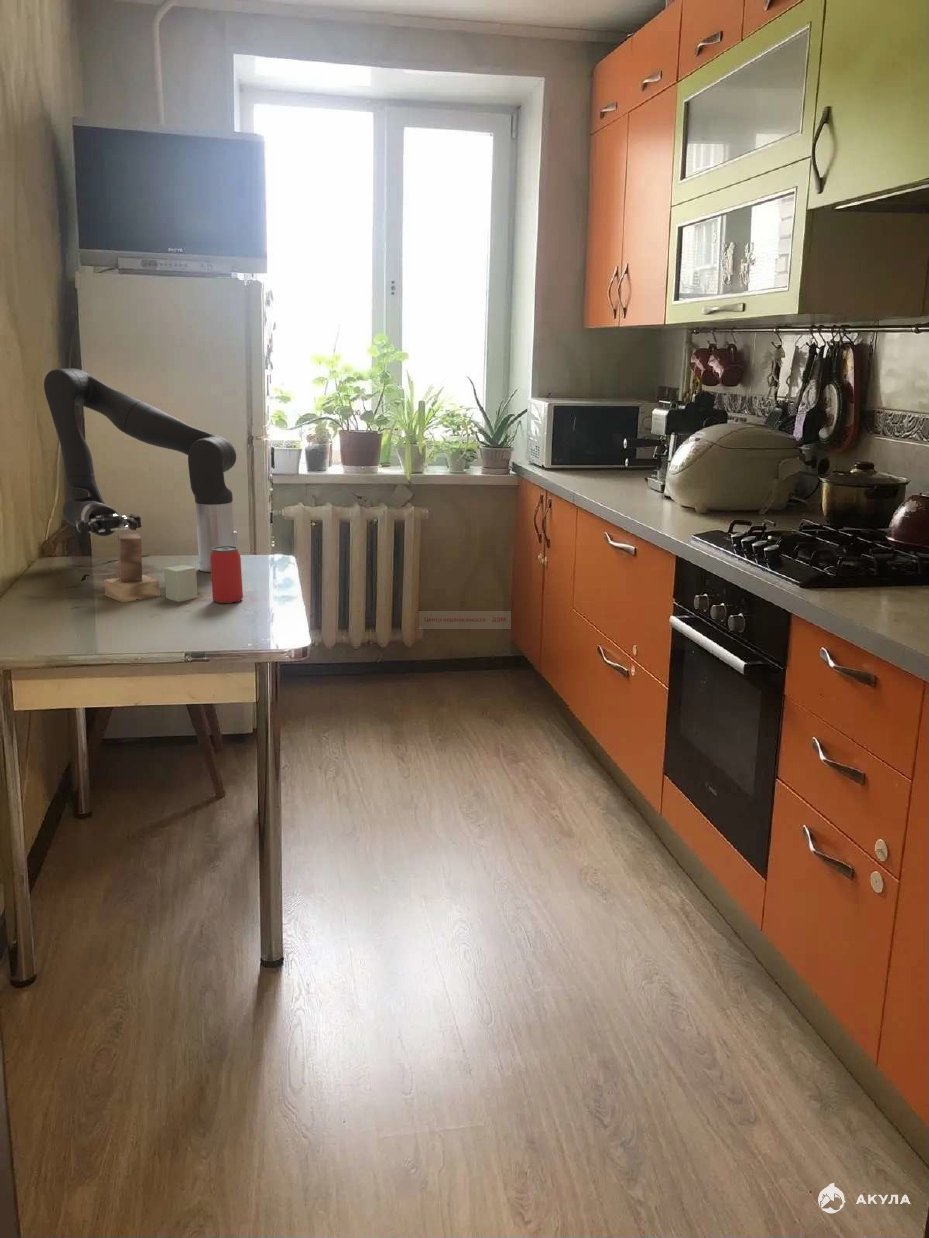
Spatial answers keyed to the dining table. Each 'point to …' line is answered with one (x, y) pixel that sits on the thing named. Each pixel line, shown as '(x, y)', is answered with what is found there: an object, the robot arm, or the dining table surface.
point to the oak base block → (131, 589)
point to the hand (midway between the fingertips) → (116, 527)
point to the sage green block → (180, 582)
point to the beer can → (226, 574)
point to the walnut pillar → (130, 557)
